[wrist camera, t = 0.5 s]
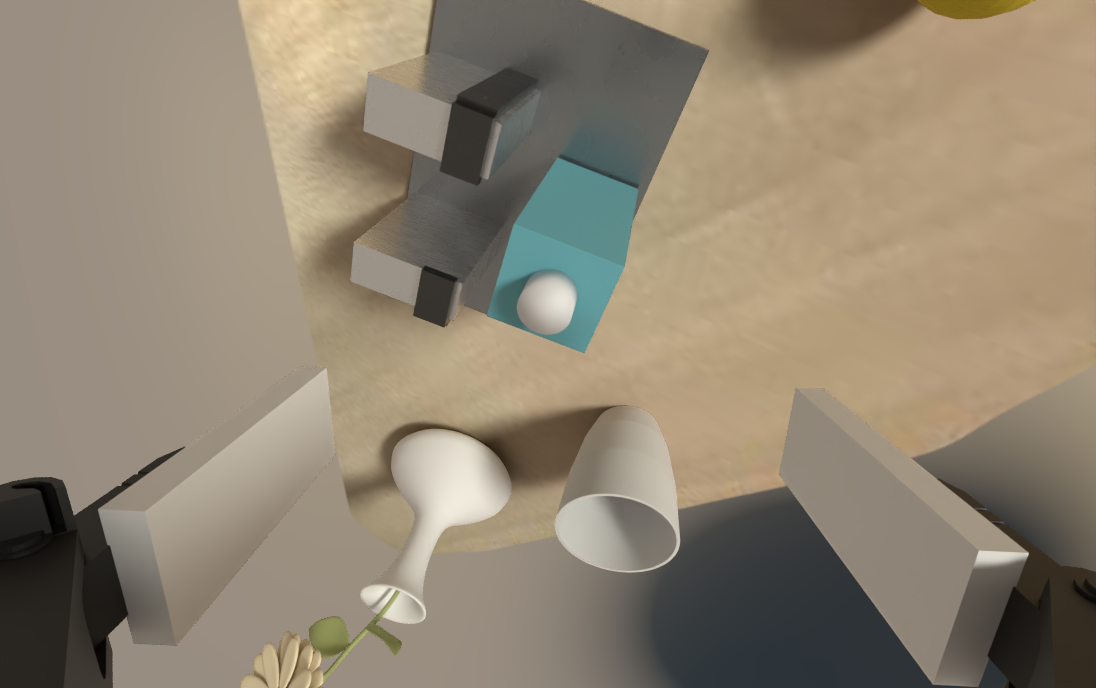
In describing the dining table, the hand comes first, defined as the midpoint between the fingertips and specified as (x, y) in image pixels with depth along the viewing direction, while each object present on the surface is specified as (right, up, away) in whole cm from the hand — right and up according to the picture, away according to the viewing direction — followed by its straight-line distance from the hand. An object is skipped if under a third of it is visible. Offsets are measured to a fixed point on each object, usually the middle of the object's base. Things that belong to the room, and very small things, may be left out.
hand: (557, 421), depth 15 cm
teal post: (+2, +11, +17) cm, 20 cm away
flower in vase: (-9, -9, +34) cm, 37 cm away
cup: (+6, -4, +27) cm, 28 cm away
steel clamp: (-2, +12, +17) cm, 21 cm away
